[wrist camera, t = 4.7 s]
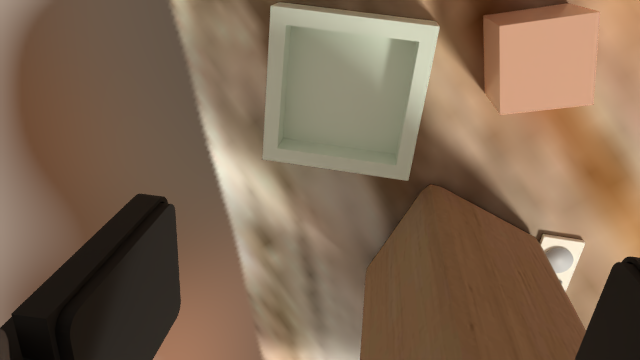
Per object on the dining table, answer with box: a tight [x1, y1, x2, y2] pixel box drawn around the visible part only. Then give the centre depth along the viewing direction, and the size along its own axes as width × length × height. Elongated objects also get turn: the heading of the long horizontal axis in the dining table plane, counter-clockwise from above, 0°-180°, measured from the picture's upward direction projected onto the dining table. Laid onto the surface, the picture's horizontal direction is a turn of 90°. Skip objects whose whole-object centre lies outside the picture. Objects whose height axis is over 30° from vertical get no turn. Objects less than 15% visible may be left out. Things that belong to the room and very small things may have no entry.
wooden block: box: [360, 184, 586, 360], centre depth 29 cm, size 10×10×20 cm
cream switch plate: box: [539, 234, 585, 292], centre depth 37 cm, size 6×3×1 cm, turn 174°
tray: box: [262, 2, 440, 181], centre depth 32 cm, size 10×10×3 cm
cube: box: [483, 3, 600, 115], centre depth 29 cm, size 5×5×5 cm
